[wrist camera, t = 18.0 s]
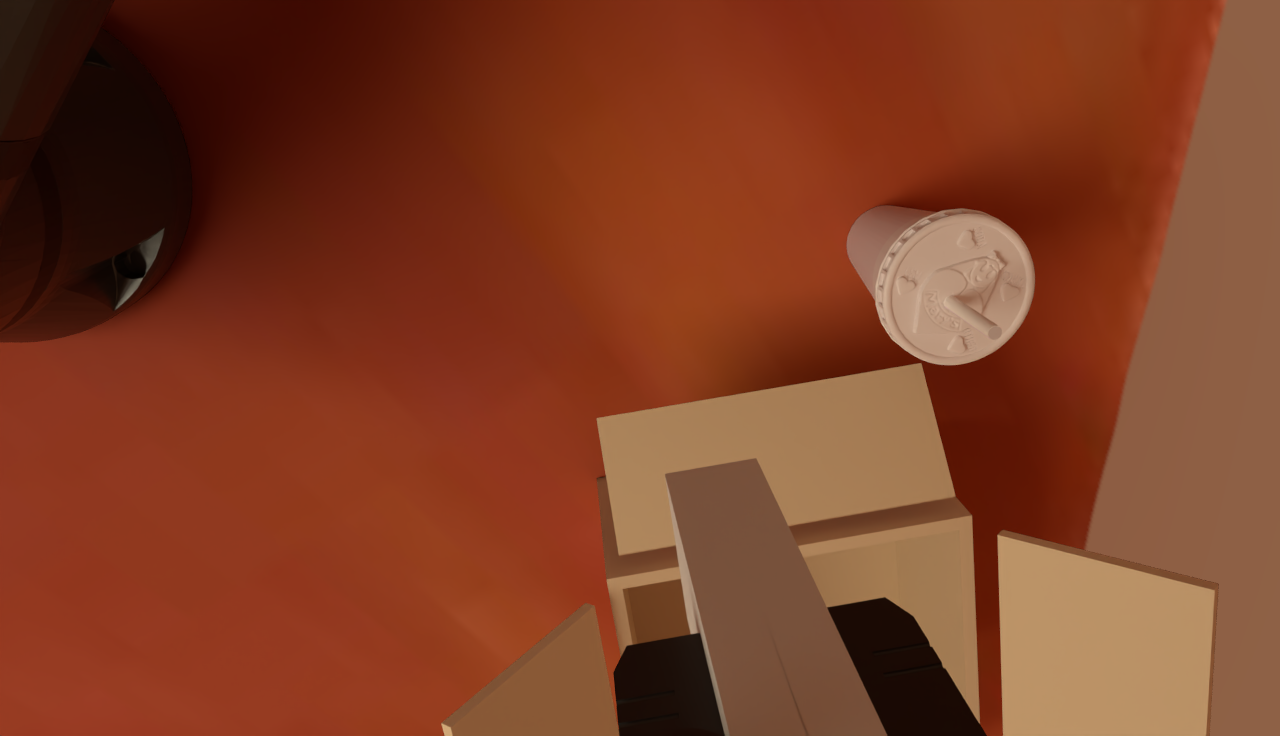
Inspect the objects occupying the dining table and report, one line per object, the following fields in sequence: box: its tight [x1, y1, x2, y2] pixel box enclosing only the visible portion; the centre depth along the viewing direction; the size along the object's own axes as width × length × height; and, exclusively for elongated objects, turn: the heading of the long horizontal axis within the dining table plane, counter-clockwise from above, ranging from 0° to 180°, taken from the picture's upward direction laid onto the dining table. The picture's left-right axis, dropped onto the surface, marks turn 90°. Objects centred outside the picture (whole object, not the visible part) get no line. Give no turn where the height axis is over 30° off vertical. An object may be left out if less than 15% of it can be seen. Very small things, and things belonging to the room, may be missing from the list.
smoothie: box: [847, 205, 1035, 365], centre depth 42 cm, size 6×6×14 cm
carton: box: [597, 477, 980, 724], centre depth 49 cm, size 16×14×10 cm
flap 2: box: [597, 363, 955, 556], centre depth 43 cm, size 15×6×1 cm
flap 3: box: [998, 530, 1219, 736], centre depth 41 cm, size 8×13×1 cm
